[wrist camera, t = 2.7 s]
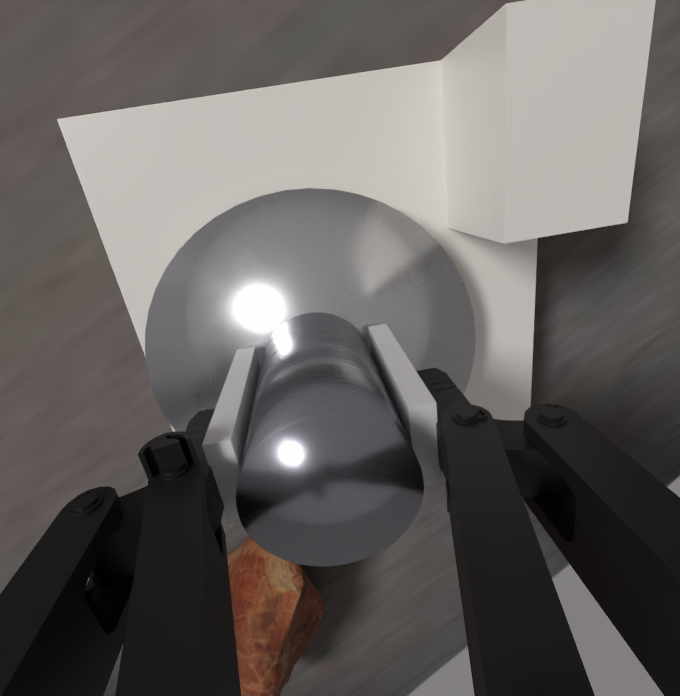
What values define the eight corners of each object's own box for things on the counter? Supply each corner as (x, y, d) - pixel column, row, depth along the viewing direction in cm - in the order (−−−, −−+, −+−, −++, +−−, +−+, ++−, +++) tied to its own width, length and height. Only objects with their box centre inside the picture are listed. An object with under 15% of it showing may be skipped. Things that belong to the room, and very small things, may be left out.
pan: (206, 494, 21) (200, 516, 20) (107, 218, 16) (89, 221, 14) (466, 446, 21) (478, 464, 20) (457, 161, 16) (472, 159, 15)
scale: (211, 467, 24) (172, 592, 17) (95, 130, 17) (-58, 87, 10) (509, 411, 25) (601, 508, 17) (516, 64, 18) (674, -22, 10)
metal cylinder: (275, 418, 18) (259, 580, 11) (251, 323, 16) (213, 437, 9) (375, 400, 18) (429, 547, 11) (362, 303, 16) (416, 400, 9)
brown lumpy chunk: (259, 518, 21) (287, 778, 16) (365, 512, 27) (412, 704, 22) (159, 572, 28) (156, 766, 23) (260, 558, 34) (276, 713, 28)
